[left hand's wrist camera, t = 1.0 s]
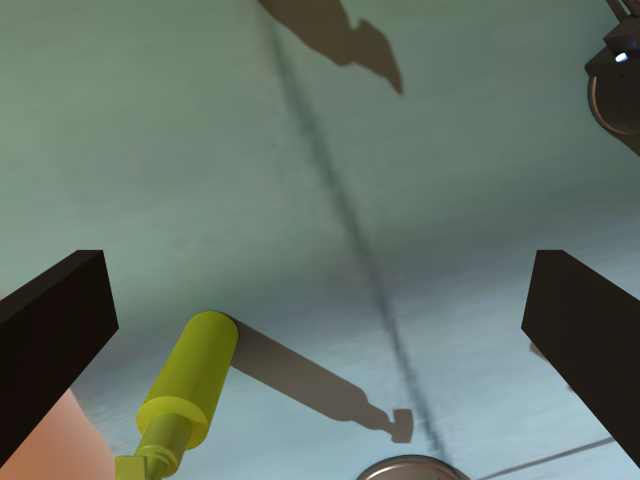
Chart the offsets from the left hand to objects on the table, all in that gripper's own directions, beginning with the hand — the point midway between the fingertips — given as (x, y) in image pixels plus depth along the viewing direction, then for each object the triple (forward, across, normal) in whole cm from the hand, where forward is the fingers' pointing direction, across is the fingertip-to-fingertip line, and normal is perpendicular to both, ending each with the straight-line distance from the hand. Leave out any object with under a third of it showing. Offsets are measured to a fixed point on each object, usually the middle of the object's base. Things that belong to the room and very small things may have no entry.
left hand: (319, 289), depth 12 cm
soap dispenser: (+28, +12, +19) cm, 36 cm away
